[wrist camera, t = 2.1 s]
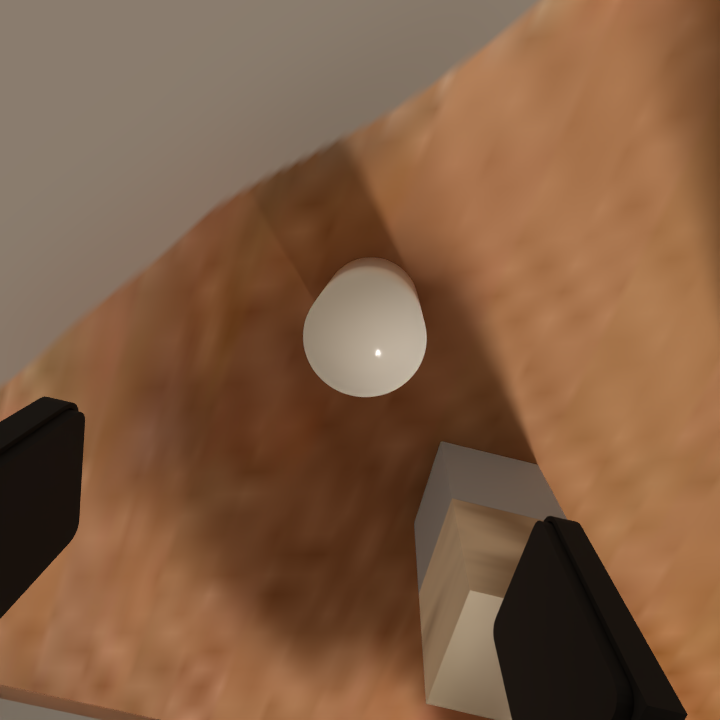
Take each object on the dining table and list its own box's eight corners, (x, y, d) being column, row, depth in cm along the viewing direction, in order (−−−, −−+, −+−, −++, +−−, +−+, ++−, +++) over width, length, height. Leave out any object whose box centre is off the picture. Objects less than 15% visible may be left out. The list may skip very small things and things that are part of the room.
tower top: (571, 527, 25) (624, 627, 19) (529, 620, 27) (566, 736, 21) (451, 498, 25) (470, 590, 19) (418, 593, 26) (426, 703, 21)
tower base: (537, 464, 30) (570, 526, 25) (505, 544, 32) (529, 620, 27) (440, 440, 30) (451, 497, 25) (414, 522, 32) (418, 593, 26)
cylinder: (429, 270, 27) (441, 295, 20) (404, 359, 29) (408, 409, 22) (335, 246, 27) (316, 264, 20) (315, 337, 29) (292, 381, 22)
